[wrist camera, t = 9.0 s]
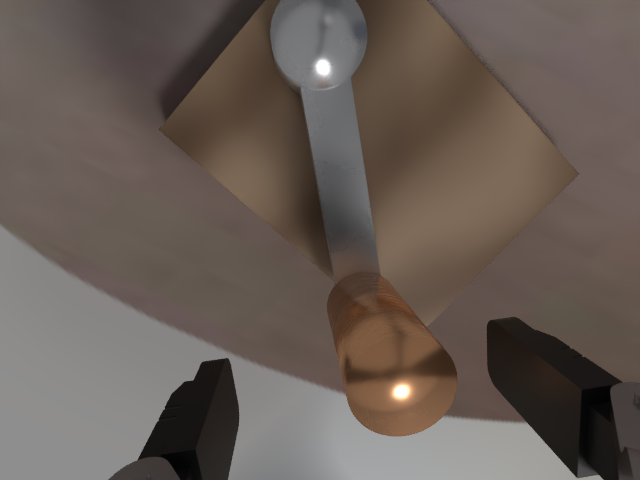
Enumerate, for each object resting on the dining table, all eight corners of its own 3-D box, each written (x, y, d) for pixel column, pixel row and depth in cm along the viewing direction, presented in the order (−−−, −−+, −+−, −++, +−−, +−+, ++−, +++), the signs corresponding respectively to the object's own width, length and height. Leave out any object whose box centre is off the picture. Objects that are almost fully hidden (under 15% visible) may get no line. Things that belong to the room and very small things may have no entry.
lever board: (170, 132, 17) (157, 129, 16) (338, -72, 16) (343, -97, 15) (400, 332, 20) (408, 346, 19) (557, 173, 19) (580, 173, 18)
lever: (265, 15, 15) (237, -138, 7) (349, 0, 15) (406, -165, 8) (325, 328, 18) (349, 447, 11) (396, 314, 18) (468, 422, 11)
